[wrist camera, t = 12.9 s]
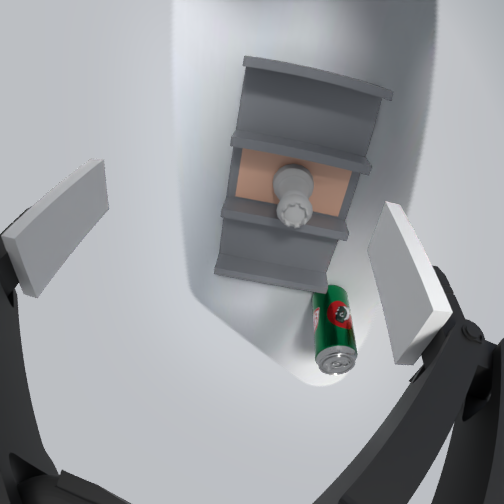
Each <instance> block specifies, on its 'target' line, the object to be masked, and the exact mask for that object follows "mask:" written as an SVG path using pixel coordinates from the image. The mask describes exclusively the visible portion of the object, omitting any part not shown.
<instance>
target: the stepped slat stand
mask: <svg viewBox="0 0 504 504" xmlns="http://www.w3.org/2000/svg"><path fill="white" fill-rule="evenodd" d="M243 66H246V70H245V76H244V82H243V88H242V95H241V101H240V107H239V114H238V120H237V126H236V130H235V132H234V133H233V135H232V137H231V144H230V146H233V153H232V160H231V167H230V174H229V182H228V189H227V196H226V199H225V202H224V204H223V207H222V211H221V217H224V219H223V227H222V235H221V243H220V251H219V256H218V259H217V262H216V265H215V271H214V274H217V275H222V276H228V277H233V278H238V279H244V280H249V281H255V282H260V283H266V284H271V285H277V286H283V287H288V288H294V289H300V290H306V291H311V292H317V293H323V294H326V292H327V290H328V283H327V276H326V272H327V269H328V266H329V264H330V261H331V258H332V256H333V253H334V250H335V247H336V244H337V242H338V239H339V240H343V241H347V238H348V235H349V232H348V228H347V225H346V222H345V219H346V216H347V213H348V210H349V207H350V204H351V201H352V198H353V195H354V192H355V189H356V186H357V182H358V179H359V176H360V173H361V174H365V175H369V174H370V171H371V168H372V166H371V165H370V163H369V162H368V160H367V159H366V158H365V157H366V153H367V150H368V146H369V143H370V140H371V136H372V133H373V129H374V125H375V122H376V118H377V114H378V111H379V107H380V103H381V99H382V98H384V99H387V100H389V101H391V99H392V95H393V92H394V91H391V90H388V89H385V88H383V87H380V86H377V85H373V84H370V83H367V82H364V81H360V80H357V79H354V78H350V77H347V76H343V75H339V74H335V73H332V72H328V71H323V70H319V69H315V68H311V67H306V66H302V65H297V64H292V63H287V62H281V61H276V60H270V59H264V58H258V57H251V56H244V61H243ZM288 164H298V165H302V166H304V167H305V168H306V169H308V170H309V171H310V173H311V174H312V176H313V181H314V189H313V192H312V195H311V196H310V197H309V201H310V203H311V205H312V209H313V213H312V216H311V218H310V220H309V221H308V222H307V223H306V224H305V225H304V224H303V225H301V226H300V228H295V229H294V227H293V226H289V227H287V226H286V225H284V223H283V222H281V220H280V219H279V218H278V216H277V211H276V210H277V206H278V203H279V202H280V200H279V199H278V197H277V196H276V194H275V193H274V188H273V178H274V175H275V173H276V172H277V171H278V169H280V168H281V167H283V166H285V165H288Z"/></svg>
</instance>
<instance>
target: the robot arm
mask: <svg viewBox="0 0 504 504" xmlns="http://www.w3.org/2000/svg"><path fill="white" fill-rule="evenodd" d="M108 210H109V204H108V196H107V188H106V177H105V167H104V160H103V159H90V160H88V161H87V162H86V163H84V164H83V165H82V166H81V167H79V168H78V169H77V170H75V171H74V172H73V173H71V174H70V175H69V176H68V177H66V178H65V179H64V180H63V181H61V182H60V183H59V184H58V185H56V186H55V187H54V188H53V189H52V190H50V191H49V192H48V193H47V194H46V195H45V196H43V197H42V198H41V199H40V200H39V201H38V202H36V203H35V204H34V205H33V206H31V207H30V208H28V209H26V210H25V211H24V212H23V213H22V214H21V215H20V216H19V217H18V218H17V219H15V220H14V222H13V223H11V224H10V225H9V226H8V227H7V228H6V229H5V230H4V231H3V232H2V233H1V234H0V504H131V503H129V502H127V501H126V500H124V499H122V498H120V497H118V496H116V495H115V494H113V493H111V492H109V491H107V490H106V489H104V488H102V487H100V486H99V485H96V484H94V483H91V482H89V481H86V480H84V479H82V478H79V477H77V476H74V475H72V474H70V473H68V472H66V471H63V470H62V471H61V474H60V475H58V472H57V470H56V468H55V466H54V464H53V462H52V460H51V459H50V457H49V456H48V454H47V453H46V451H45V449H44V447H43V444H42V441H41V438H40V434H39V431H38V427H37V423H36V419H35V415H34V411H33V407H32V403H31V398H30V393H29V389H28V383H27V378H26V372H25V366H24V360H23V352H22V345H21V337H20V328H19V315H18V301H17V293H16V291H15V287H16V286H17V284H18V283H20V286H21V288H22V291H23V293H24V294H26V295H29V296H32V297H35V298H38V297H39V295H40V294H41V293H42V291H43V290H44V288H45V287H46V286H47V284H48V283H49V282H50V280H51V279H52V278H53V276H54V275H55V274H56V272H57V271H58V270H59V268H60V267H61V266H62V265H63V263H64V262H65V261H66V259H67V258H68V257H69V255H70V254H71V253H72V252H73V251H74V250H75V248H76V247H77V246H78V245H79V243H80V242H81V241H82V240H83V238H84V237H85V236H86V235H87V234H88V233H89V231H90V230H91V229H92V228H93V227H94V225H95V224H96V223H97V222H98V221H99V220H100V219H101V218H102V216H103V215H104V214H105V213H106V212H107V211H108ZM367 251H368V255H369V258H370V262H371V265H372V269H373V272H374V276H375V280H376V284H377V287H378V291H379V295H380V299H381V303H382V307H383V311H384V315H385V320H386V324H387V328H388V333H389V337H390V342H391V347H392V352H393V357H394V362H395V364H398V365H414V363H415V362H416V361H417V360H418V358H419V357H420V356H421V355H422V359H423V363H424V364H423V365H422V367H421V368H420V369H419V370H418V371H417V372H416V373H415V375H414V376H413V377H412V378H411V379H410V380H409V381H410V382H411V383H410V385H409V386H408V388H407V389H406V391H405V392H404V394H403V395H402V397H401V398H400V400H399V401H398V402H397V404H396V405H395V407H394V408H393V410H392V411H391V413H390V414H389V415H388V417H387V418H386V419H385V421H384V422H383V424H382V425H381V426H380V427H379V429H378V430H377V431H376V433H375V434H374V435H373V436H372V438H371V439H370V440H369V442H368V443H367V444H366V445H365V447H364V448H363V449H362V450H361V452H360V453H359V454H358V455H357V456H356V457H355V459H354V460H353V461H352V462H351V463H350V464H349V465H348V467H347V468H346V469H345V470H344V471H343V472H342V473H341V474H340V476H339V477H338V478H337V479H336V480H335V481H334V482H333V483H332V484H331V485H330V486H329V487H328V488H327V489H326V491H325V492H324V493H323V494H322V495H321V496H320V497H319V498H318V499H317V500H316V501H315V502H314V503H313V504H407V503H408V502H409V500H410V499H411V497H412V496H413V494H414V493H415V491H416V490H417V488H418V486H419V485H420V483H421V482H422V480H423V479H424V477H425V475H426V474H427V472H428V470H429V469H430V467H431V465H432V463H433V462H434V460H435V458H436V456H437V455H438V453H439V451H440V449H441V447H442V445H443V443H444V442H445V440H446V438H447V436H448V434H449V432H450V430H451V428H452V426H453V424H454V427H453V431H452V436H451V440H450V444H449V448H448V452H447V456H446V459H445V463H444V466H443V470H442V473H441V477H440V480H439V483H438V486H437V489H436V492H435V495H434V498H433V501H432V503H431V504H504V338H503V339H502V340H501V342H500V343H499V344H498V345H496V344H493V343H491V342H488V341H486V340H485V338H484V335H483V332H482V331H481V329H480V328H479V327H478V326H477V325H476V324H475V323H473V322H471V321H470V320H466V319H465V318H464V315H463V313H462V311H461V308H460V306H459V304H458V301H457V299H456V297H455V295H453V290H452V288H451V287H450V284H449V282H448V280H447V278H446V276H445V275H444V273H443V272H442V271H441V270H440V269H439V268H438V267H437V266H432V265H431V263H430V260H429V258H428V256H427V254H426V252H425V250H424V248H423V246H422V244H421V243H420V240H419V238H418V237H417V235H416V233H415V231H414V229H413V227H412V225H411V223H410V222H409V220H408V218H407V216H406V214H405V213H404V211H403V209H402V207H401V205H399V204H395V203H391V202H387V201H385V204H384V206H383V209H382V212H381V215H380V218H379V220H378V223H377V226H376V228H375V231H374V234H373V236H372V239H371V241H370V244H369V247H368V249H367ZM454 421H455V422H454Z"/></svg>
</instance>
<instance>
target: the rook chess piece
mask: <svg viewBox="0 0 504 504" xmlns="http://www.w3.org/2000/svg"><path fill="white" fill-rule="evenodd" d="M273 188H274V193H275V194H276V196H277V197H278V199H279V200H280V202H279V203H278V206H277V210H276V211H277V216H278V218H279V219H280V220H281V222H283V223H284V225H286V226H287V227H289V226H293V227H294V229H295V228H300V226H301V225H303V224H304V225H305V224H306V223H307V222H308V221H309V220H310V218H311V216H312V213H313V209H312V205H311V203H310V201H309V197H310V196H311V195H312V192H313V189H314V181H313V176H312V174H311V173H310V171H309V170H308V169H306V168H305V167H304V166H302V165H298V164H288V165H285V166H283V167H281V168H280V169H278V171H277V172H276V173H275V175H274V178H273Z"/></svg>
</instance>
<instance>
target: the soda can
mask: <svg viewBox="0 0 504 504" xmlns="http://www.w3.org/2000/svg"><path fill="white" fill-rule="evenodd" d="M312 307H313V324H314V344H315V361H316V363H317V364H318V365H319V369H320V370H321V371H322V372H323V373H326V374H330V375H338V374H343V373H346V372H348V371H349V370H351V369H352V368H353V367H354V365H355V360H356V358H357V348H356V342H355V336H354V330H353V324H352V318H351V312H350V307H349V301H348V296H347V293H346V291H345V290H344V289H343V288H341V287H339V286H336V285H328V290H327V292H326V294H323V293H317V292H315V293H314V295H313V297H312Z"/></svg>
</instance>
